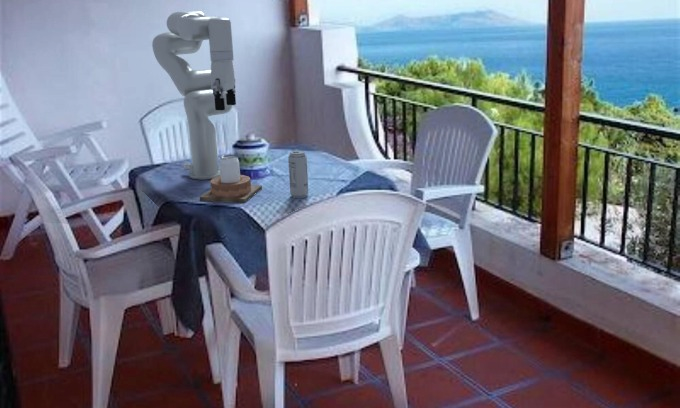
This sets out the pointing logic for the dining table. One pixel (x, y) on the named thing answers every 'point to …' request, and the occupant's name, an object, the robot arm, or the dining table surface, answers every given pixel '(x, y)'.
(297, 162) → the energy drink can
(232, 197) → the socket block
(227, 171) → the can
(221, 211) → the dining table surface
